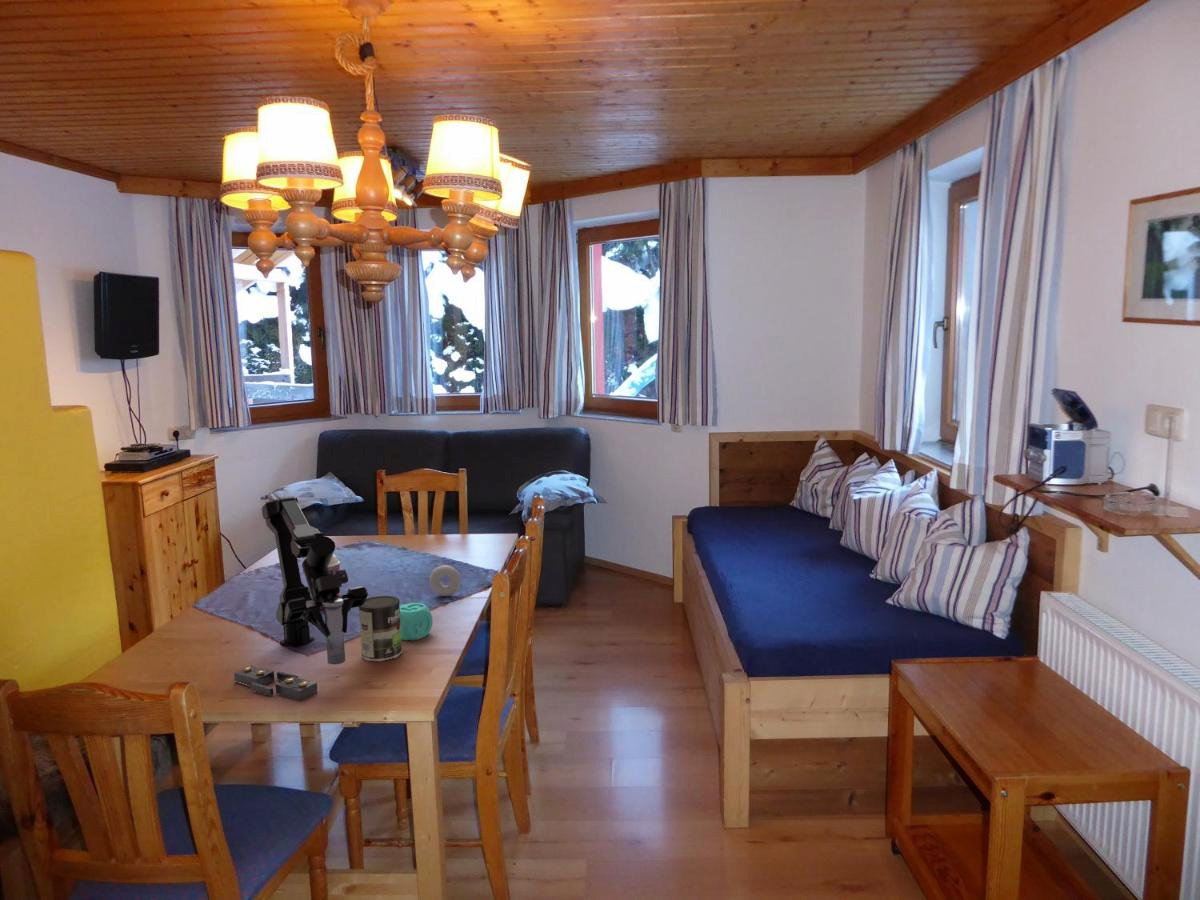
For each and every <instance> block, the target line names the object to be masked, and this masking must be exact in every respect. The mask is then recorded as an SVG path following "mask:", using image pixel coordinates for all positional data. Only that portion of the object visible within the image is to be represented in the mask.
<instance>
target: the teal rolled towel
mask: <svg viewBox="0 0 1200 900" xmlns="http://www.w3.org/2000/svg"><path fill="white" fill-rule="evenodd" d="M399 606H400V626H401V640H402V639H403V640H402V641H408V640H411V641H416V640H415V639H418V640H420V639H419V638H422V639H424V638H425V636H426V637H427V636H428V635H429V634H430V632H431V631H432V627H433V623H434V621H433V616H432V612H431V609H429V608H428V606H427V605H426V604H424V603H421V602H420V603H419V602H408V603H405V604H401V605H399ZM423 637H424V638H423Z"/></svg>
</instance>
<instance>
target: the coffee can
mask: <svg viewBox="0 0 1200 900" xmlns="http://www.w3.org/2000/svg"><path fill="white" fill-rule="evenodd" d="M400 603H401V600H400V598H399V597H396V596H392V595H378V596H371V597H367V598H366V600H365V603H364V605H362V606H359V607H358V610H359V624H360V625H359V629H360V642H361V643H360V644H361V657H362V659H363V660H365V661H367V662H385V660H387V661H390V660H389V659H391V660H393V659H392V658H394V659H396V658H399V655H400V654H401V653H402V654H403V643H402V639H401V626H400V606H401V605H400ZM402 654H401V655H402ZM401 655H400V656H401Z"/></svg>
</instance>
